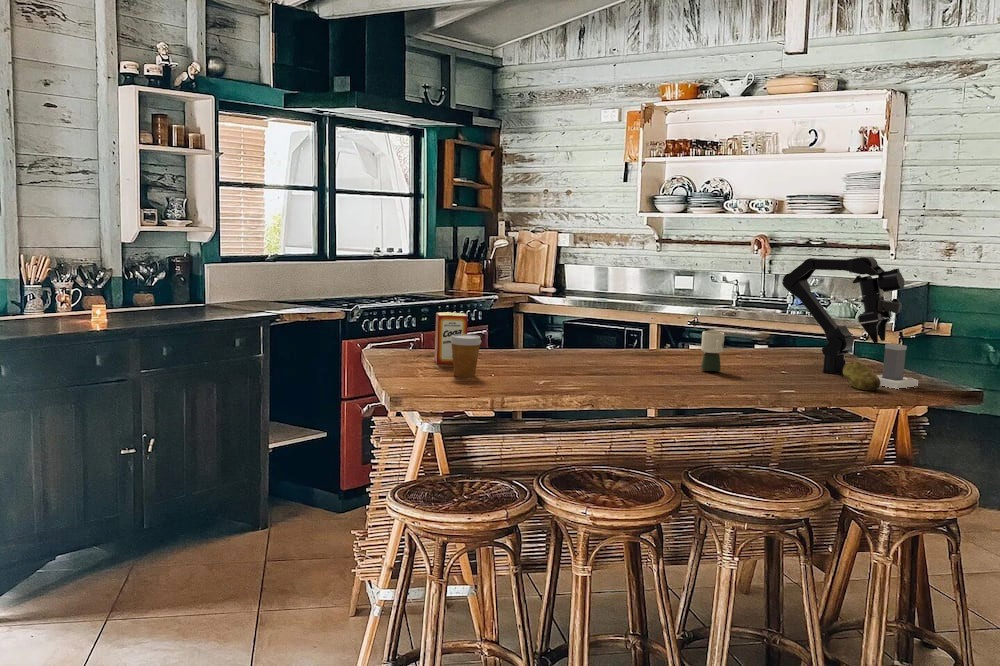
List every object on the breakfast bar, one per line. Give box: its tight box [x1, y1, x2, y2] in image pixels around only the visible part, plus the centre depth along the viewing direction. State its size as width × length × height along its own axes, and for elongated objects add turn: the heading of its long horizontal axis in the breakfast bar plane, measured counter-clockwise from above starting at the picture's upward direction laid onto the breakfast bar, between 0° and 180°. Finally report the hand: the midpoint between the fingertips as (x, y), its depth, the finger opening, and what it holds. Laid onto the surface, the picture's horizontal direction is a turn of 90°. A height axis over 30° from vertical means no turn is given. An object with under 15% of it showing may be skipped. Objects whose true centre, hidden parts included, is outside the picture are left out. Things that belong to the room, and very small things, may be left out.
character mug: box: [700, 330, 725, 373], centre depth 322 cm, size 11×7×13 cm, turn 7°
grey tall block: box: [881, 343, 908, 381], centre depth 311 cm, size 5×5×12 cm
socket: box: [876, 374, 919, 390], centre depth 312 cm, size 11×11×3 cm
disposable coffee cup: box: [450, 333, 482, 378], centre depth 297 cm, size 10×10×12 cm
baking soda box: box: [434, 311, 469, 365], centre depth 318 cm, size 10×6×16 cm
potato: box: [842, 360, 881, 392], centre depth 305 cm, size 8×13×8 cm, turn 6°
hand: (879, 341), depth 320 cm, fingers open, 9 cm apart
